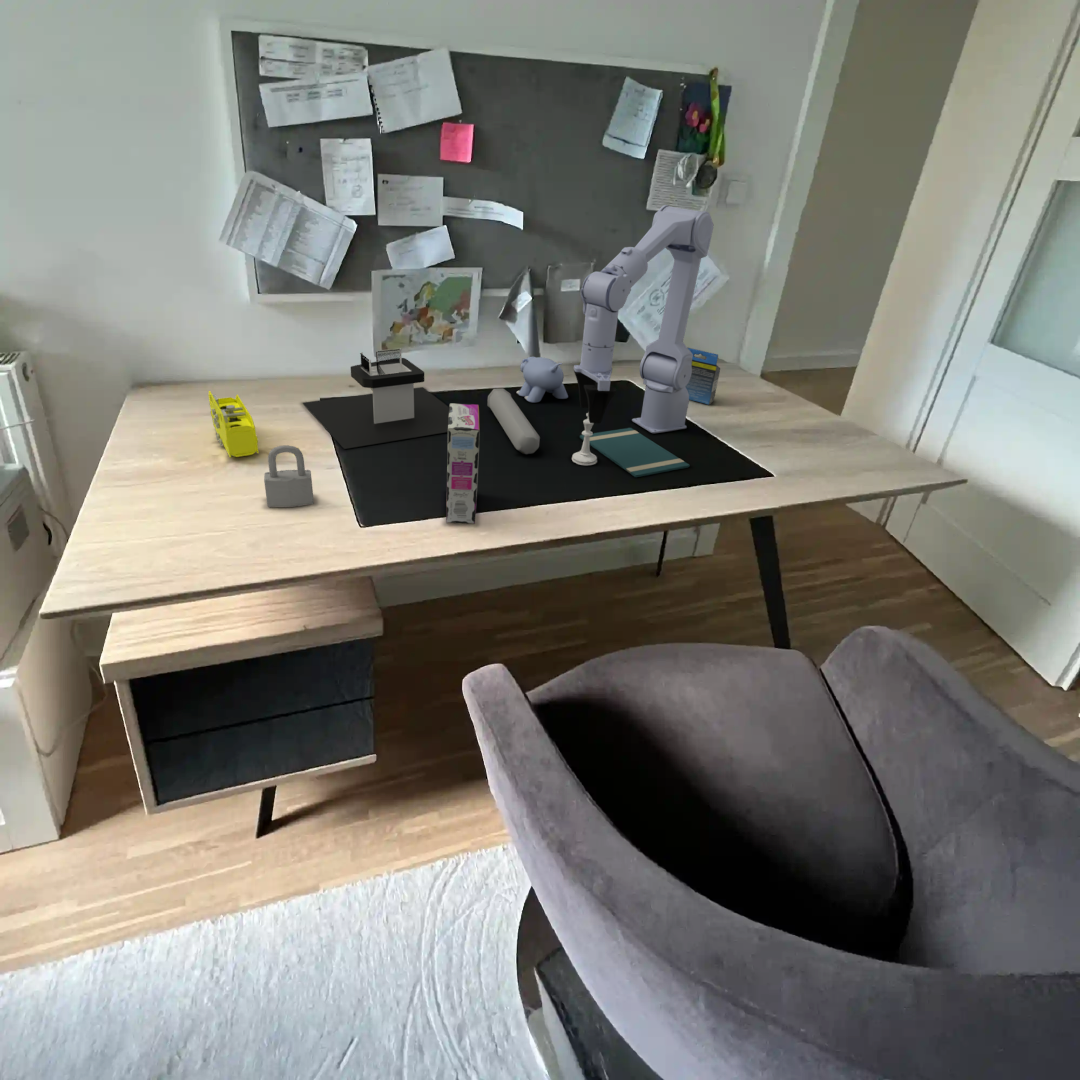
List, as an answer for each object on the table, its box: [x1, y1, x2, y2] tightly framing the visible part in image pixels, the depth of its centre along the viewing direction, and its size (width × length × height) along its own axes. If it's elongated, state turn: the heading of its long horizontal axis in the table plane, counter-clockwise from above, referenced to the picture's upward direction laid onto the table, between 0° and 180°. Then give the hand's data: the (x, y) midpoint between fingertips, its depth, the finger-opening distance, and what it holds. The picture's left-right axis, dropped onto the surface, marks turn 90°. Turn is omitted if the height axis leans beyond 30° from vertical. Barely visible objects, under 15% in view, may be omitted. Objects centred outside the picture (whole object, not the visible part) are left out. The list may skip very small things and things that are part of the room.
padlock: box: [263, 444, 315, 508], centre depth 116 cm, size 7×4×10 cm, turn 107°
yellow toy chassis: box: [208, 390, 259, 458], centre depth 134 cm, size 16×6×8 cm, turn 31°
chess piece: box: [571, 412, 598, 466], centre depth 138 cm, size 5×5×10 cm
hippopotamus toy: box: [516, 356, 569, 403], centre depth 169 cm, size 11×15×10 cm
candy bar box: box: [445, 403, 481, 525], centre depth 117 cm, size 11×5×16 cm, turn 5°
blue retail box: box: [685, 346, 721, 406], centre depth 173 cm, size 9×4×12 cm, turn 58°
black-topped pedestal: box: [302, 347, 450, 450], centre depth 150 cm, size 28×26×13 cm
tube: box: [487, 388, 541, 455], centre depth 149 cm, size 5×5×25 cm
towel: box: [579, 427, 690, 478], centre depth 146 cm, size 13×20×1 cm, turn 29°
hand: (590, 414), depth 137 cm, fingers open, 7 cm apart
